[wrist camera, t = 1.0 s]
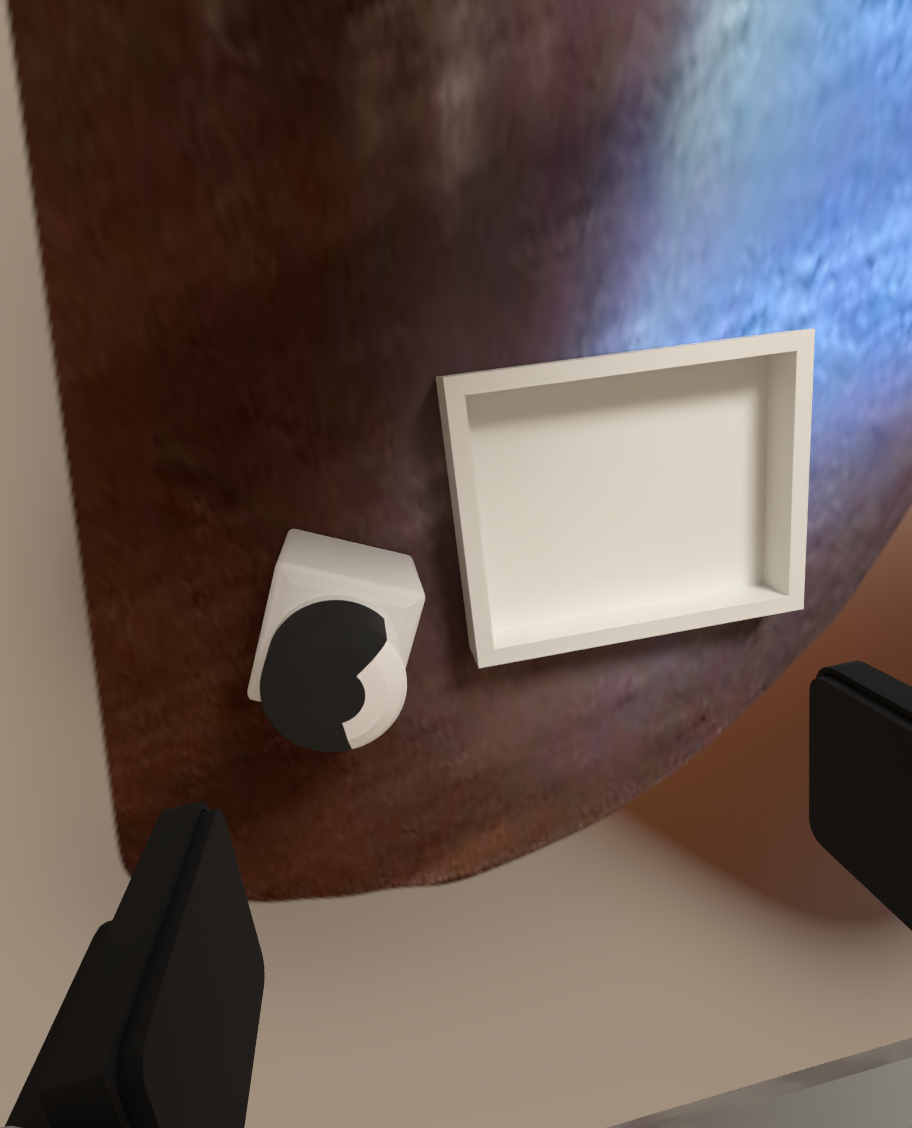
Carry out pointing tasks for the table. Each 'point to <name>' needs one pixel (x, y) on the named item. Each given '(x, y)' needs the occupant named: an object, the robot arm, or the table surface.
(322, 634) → the medicine bottle
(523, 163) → the table surface
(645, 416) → the tray
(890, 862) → the robot arm
